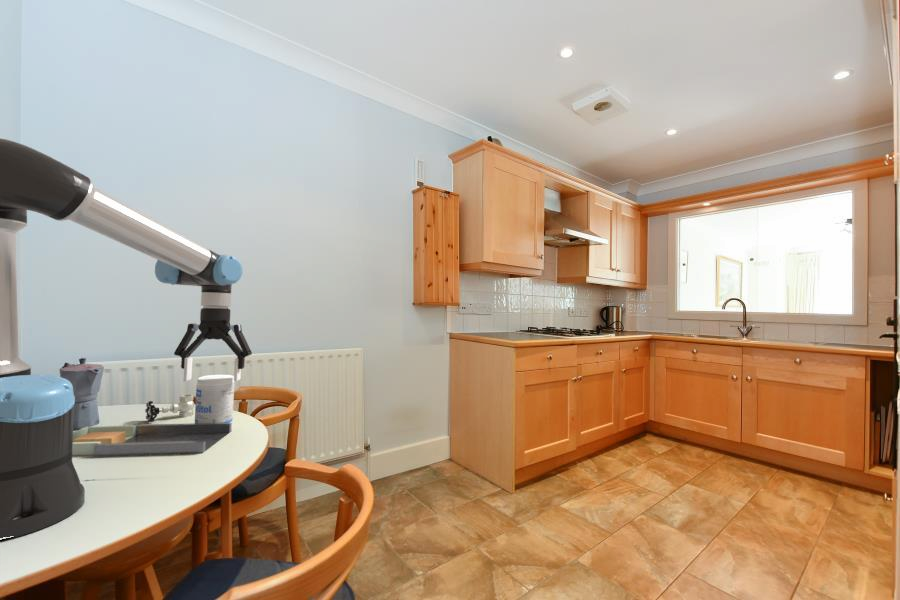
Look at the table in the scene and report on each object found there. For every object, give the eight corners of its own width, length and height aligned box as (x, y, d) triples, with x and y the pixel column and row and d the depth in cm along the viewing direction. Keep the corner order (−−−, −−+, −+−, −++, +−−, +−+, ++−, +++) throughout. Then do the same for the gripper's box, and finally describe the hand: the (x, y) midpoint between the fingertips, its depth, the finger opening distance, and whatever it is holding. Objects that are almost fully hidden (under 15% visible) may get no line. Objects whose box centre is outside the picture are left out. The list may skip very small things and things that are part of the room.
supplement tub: (186, 431, 107) (187, 379, 108) (209, 421, 117) (210, 373, 117) (219, 433, 107) (220, 381, 107) (239, 422, 116) (241, 374, 116)
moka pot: (79, 434, 104) (80, 361, 105) (36, 429, 108) (38, 359, 108) (116, 423, 114) (117, 356, 114) (75, 419, 117) (77, 354, 117)
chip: (92, 449, 94) (92, 438, 94) (74, 449, 93) (74, 439, 93) (107, 441, 99) (107, 431, 99) (90, 442, 98) (90, 432, 98)
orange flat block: (111, 448, 94) (111, 438, 94) (93, 449, 94) (93, 438, 94) (125, 441, 99) (125, 431, 99) (108, 441, 99) (108, 432, 99)
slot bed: (202, 454, 92) (202, 443, 92) (92, 458, 89) (92, 446, 89) (231, 432, 108) (232, 422, 108) (139, 434, 105) (139, 424, 105)
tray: (97, 455, 90) (97, 443, 90) (40, 457, 89) (41, 444, 89) (136, 436, 104) (136, 425, 104) (87, 437, 102) (87, 426, 102)
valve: (190, 412, 126) (144, 421, 117) (190, 392, 126) (145, 399, 117) (197, 416, 122) (151, 425, 113) (197, 396, 122) (151, 403, 113)
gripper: (265, 308, 117) (262, 377, 116) (177, 306, 114) (174, 377, 113) (255, 308, 110) (252, 382, 109) (161, 306, 106) (158, 382, 106)
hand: (212, 380), depth 111 cm, fingers open, 13 cm apart
